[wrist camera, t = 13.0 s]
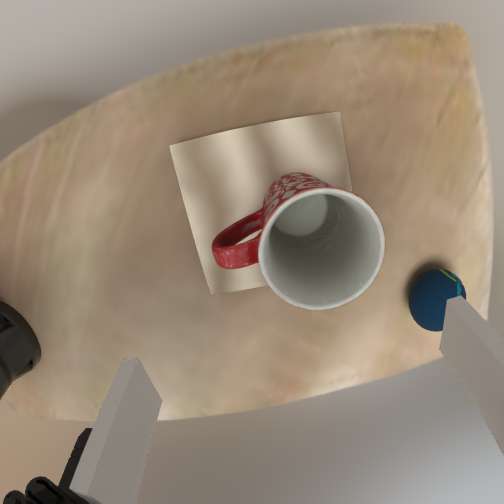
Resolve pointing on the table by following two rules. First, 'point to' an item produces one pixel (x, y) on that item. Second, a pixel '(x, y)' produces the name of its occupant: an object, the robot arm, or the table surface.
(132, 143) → the table surface
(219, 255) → the mug
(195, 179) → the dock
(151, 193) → the table surface
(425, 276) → the christmas ornament
